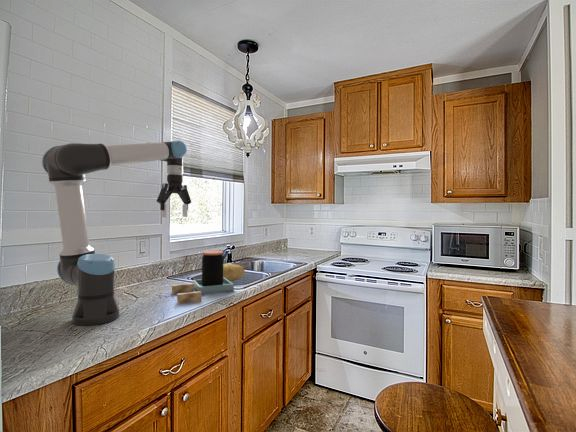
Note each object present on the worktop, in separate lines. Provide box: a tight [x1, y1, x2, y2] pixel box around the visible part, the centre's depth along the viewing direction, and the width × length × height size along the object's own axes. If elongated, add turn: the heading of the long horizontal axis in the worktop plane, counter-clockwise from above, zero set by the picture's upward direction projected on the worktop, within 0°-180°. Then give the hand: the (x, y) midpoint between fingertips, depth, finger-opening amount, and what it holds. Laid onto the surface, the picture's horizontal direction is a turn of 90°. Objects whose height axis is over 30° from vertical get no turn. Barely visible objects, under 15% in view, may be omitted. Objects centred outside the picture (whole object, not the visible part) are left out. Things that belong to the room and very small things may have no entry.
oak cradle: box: [171, 282, 202, 305], centre depth 150 cm, size 10×19×4 cm, turn 27°
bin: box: [192, 277, 235, 295], centre depth 166 cm, size 17×17×4 cm
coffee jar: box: [201, 250, 224, 287], centre depth 166 cm, size 11×11×18 cm
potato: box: [223, 263, 245, 282], centre depth 185 cm, size 10×14×10 cm
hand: (174, 217), depth 162 cm, fingers open, 13 cm apart
